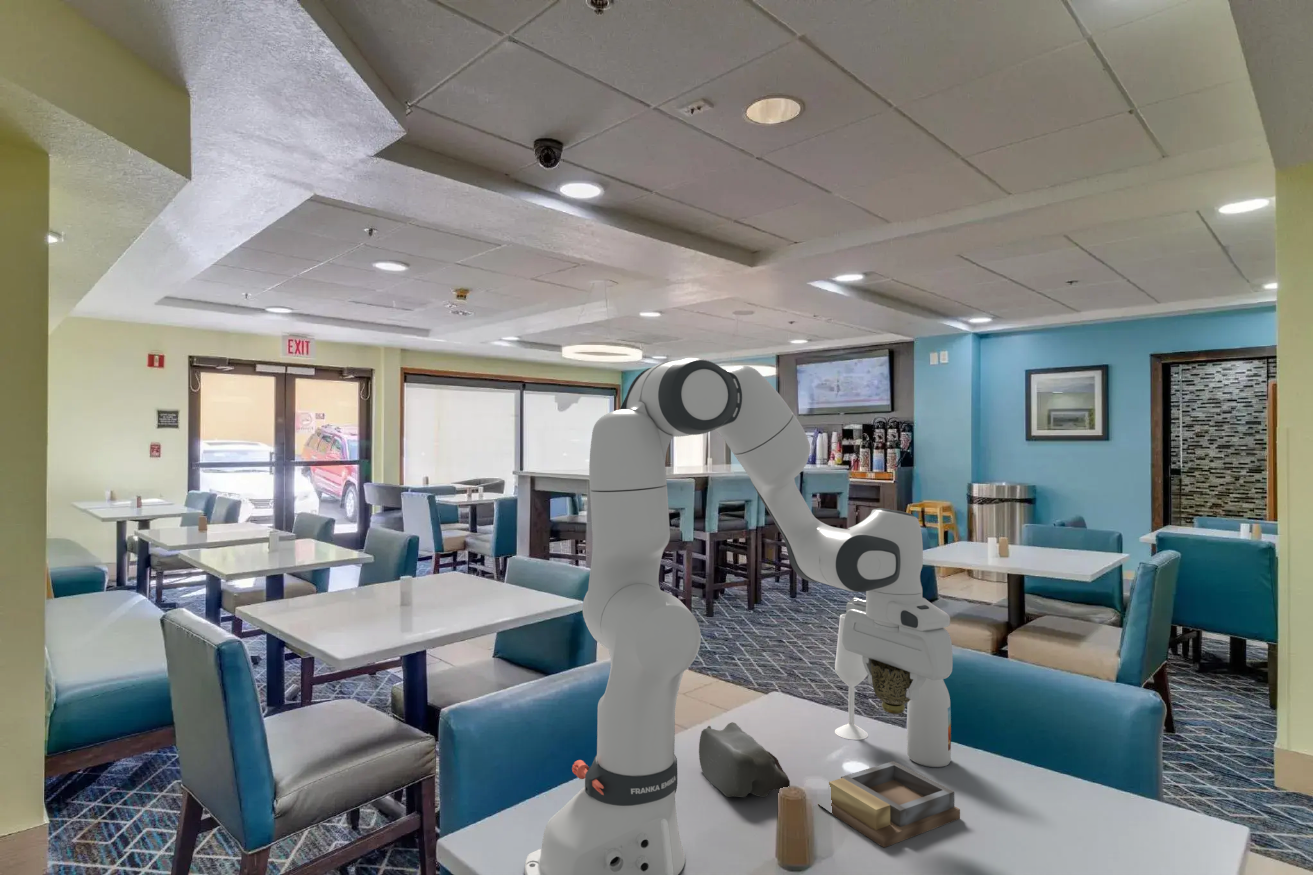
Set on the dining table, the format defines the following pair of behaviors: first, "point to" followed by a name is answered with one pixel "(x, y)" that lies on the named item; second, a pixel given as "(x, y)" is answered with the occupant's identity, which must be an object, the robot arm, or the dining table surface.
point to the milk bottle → (930, 725)
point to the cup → (890, 686)
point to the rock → (739, 763)
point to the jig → (891, 803)
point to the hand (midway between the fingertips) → (892, 691)
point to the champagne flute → (849, 683)
